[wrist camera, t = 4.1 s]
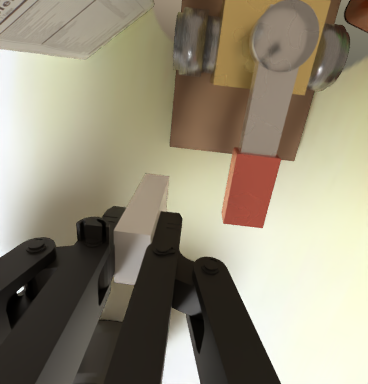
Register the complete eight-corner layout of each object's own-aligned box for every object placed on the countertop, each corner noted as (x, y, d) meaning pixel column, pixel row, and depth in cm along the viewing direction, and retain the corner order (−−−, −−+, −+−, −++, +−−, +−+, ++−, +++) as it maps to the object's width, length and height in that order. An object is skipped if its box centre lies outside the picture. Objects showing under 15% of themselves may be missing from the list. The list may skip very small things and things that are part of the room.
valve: (175, 78, 27) (163, 79, 18) (181, 8, 24) (171, -32, 15) (311, 94, 27) (369, 103, 18) (331, 25, 24) (409, -4, 15)
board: (171, 143, 31) (169, 146, 29) (190, -86, 22) (190, -97, 21) (289, 157, 30) (294, 161, 29) (353, -68, 22) (363, -77, 21)
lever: (255, 3, 16) (262, -6, 14) (315, 10, 16) (329, 2, 14) (217, 211, 22) (219, 223, 20) (261, 217, 22) (266, 228, 20)
